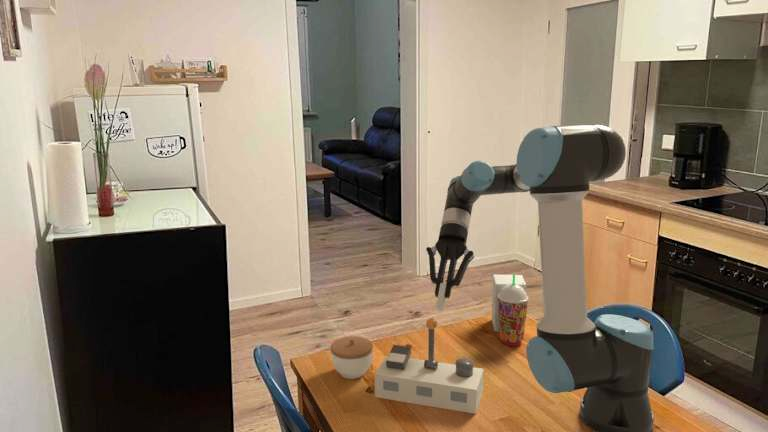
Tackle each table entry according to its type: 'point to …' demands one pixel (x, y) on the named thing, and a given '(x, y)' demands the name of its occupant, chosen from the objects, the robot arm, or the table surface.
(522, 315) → the smoothie
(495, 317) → the supplement box
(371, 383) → the table surface
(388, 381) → the console
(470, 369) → the button
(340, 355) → the lidded jar
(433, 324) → the lever
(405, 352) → the block
